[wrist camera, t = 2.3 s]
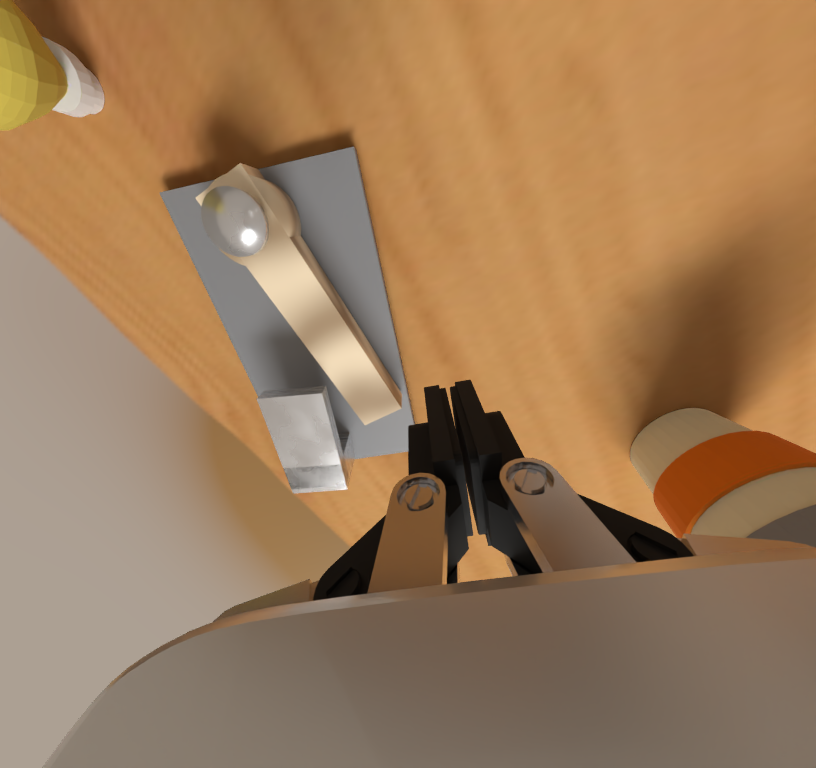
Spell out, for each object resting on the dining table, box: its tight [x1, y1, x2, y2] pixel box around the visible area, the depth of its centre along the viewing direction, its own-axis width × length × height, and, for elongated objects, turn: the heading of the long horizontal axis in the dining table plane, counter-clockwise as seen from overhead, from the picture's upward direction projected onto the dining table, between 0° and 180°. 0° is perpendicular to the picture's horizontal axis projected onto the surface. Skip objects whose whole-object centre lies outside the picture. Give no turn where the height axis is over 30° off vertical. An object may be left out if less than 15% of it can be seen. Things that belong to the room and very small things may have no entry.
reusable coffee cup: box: [630, 408, 816, 548], centre depth 25 cm, size 13×13×15 cm
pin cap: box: [201, 186, 269, 257], centre depth 18 cm, size 4×4×1 cm
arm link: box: [195, 163, 402, 425], centre depth 23 cm, size 19×5×2 cm, turn 29°
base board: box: [160, 147, 415, 459], centre depth 26 cm, size 25×14×1 cm, turn 11°
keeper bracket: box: [257, 386, 355, 493], centre depth 27 cm, size 10×5×4 cm, turn 6°
